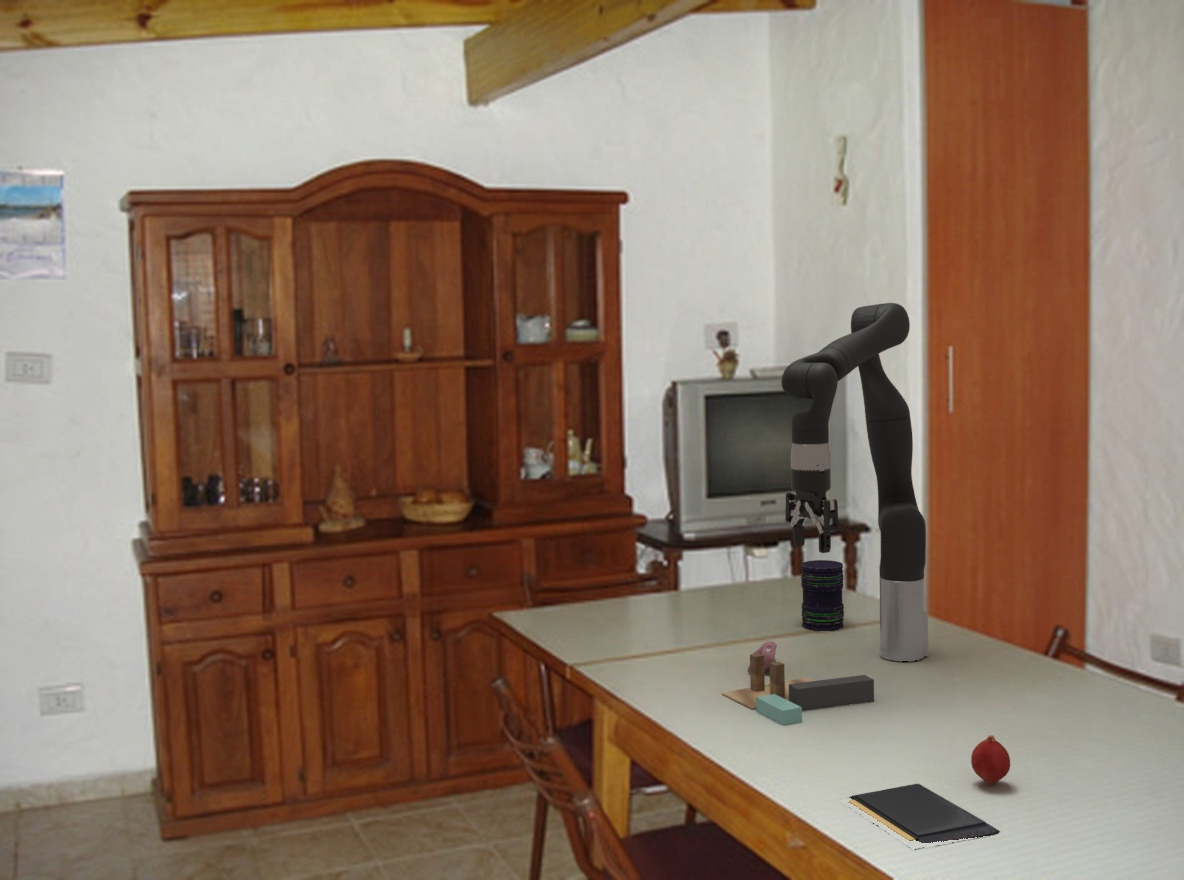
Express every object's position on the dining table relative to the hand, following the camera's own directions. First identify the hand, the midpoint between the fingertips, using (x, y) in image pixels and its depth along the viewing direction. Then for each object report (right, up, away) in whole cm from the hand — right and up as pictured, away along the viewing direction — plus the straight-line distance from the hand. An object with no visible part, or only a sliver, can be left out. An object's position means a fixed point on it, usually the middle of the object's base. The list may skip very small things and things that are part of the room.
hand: (811, 548), depth 240 cm
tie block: (-8, -30, -12) cm, 34 cm away
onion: (+19, -33, -48) cm, 61 cm away
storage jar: (+12, -23, +52) cm, 58 cm away
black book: (+5, -35, -59) cm, 69 cm away
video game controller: (-7, -27, +18) cm, 33 cm away
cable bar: (+3, -29, -6) cm, 30 cm away
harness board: (-6, -28, +1) cm, 29 cm away
